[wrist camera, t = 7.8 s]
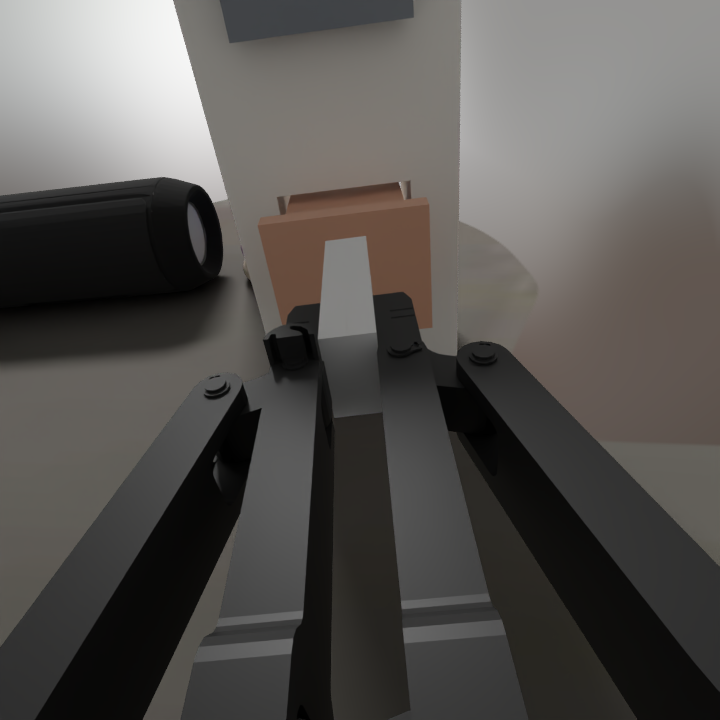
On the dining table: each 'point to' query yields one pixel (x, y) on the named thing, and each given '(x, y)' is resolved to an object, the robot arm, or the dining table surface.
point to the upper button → (305, 16)
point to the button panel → (337, 127)
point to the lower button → (347, 220)
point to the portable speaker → (107, 242)
